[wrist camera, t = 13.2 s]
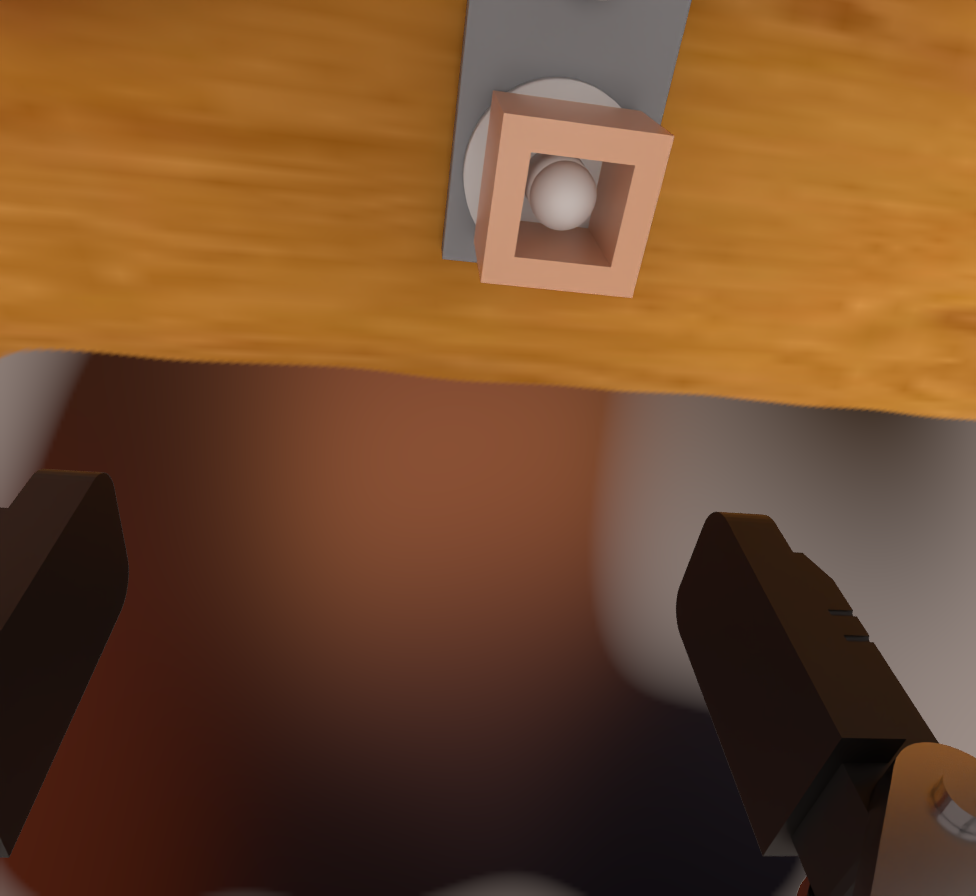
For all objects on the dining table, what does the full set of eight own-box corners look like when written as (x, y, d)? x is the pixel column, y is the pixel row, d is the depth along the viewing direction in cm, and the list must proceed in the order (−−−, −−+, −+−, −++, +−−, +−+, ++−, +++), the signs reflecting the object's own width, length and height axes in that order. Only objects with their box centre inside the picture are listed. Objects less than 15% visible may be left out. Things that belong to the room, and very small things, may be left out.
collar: (493, 90, 30) (503, 112, 26) (640, 110, 31) (674, 136, 27) (473, 241, 34) (480, 282, 30) (607, 256, 35) (631, 297, 31)
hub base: (487, -200, 27) (503, -235, 22) (717, -155, 28) (785, -178, 23) (441, 248, 36) (445, 299, 31) (615, 267, 38) (647, 319, 32)
